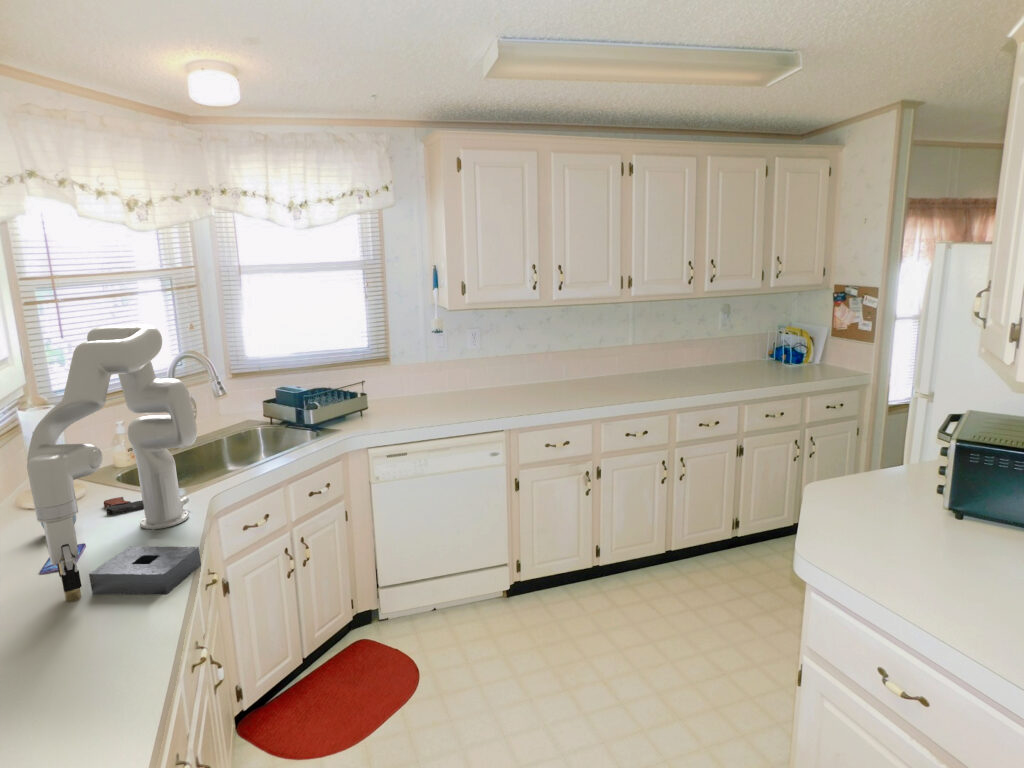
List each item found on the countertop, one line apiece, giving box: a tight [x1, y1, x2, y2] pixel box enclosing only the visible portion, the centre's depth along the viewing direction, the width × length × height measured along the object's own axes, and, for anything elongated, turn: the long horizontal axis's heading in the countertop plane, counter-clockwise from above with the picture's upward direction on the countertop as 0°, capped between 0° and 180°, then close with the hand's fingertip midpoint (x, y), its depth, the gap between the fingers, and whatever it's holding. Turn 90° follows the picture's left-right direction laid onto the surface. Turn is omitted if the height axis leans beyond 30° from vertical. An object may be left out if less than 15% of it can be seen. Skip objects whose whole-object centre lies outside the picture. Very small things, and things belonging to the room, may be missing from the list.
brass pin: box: [59, 559, 82, 603], centre depth 144 cm, size 3×3×10 cm
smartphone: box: [38, 542, 87, 575], centre depth 165 cm, size 7×1×15 cm
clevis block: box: [88, 545, 202, 596], centre depth 152 cm, size 14×18×5 cm
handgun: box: [103, 496, 144, 516], centre depth 201 cm, size 16×3×12 cm
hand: (70, 581), depth 144 cm, fingers open, 8 cm apart
